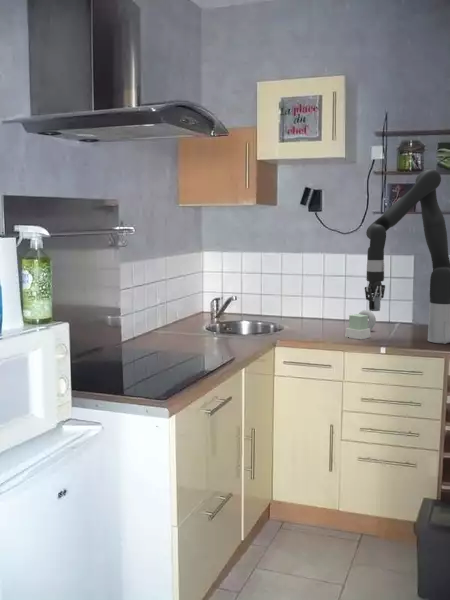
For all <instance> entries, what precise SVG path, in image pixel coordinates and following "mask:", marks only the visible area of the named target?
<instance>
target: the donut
mask: <svg viewBox="0 0 450 600" xmlns="http://www.w3.org/2000/svg"><path fill="white" fill-rule="evenodd" d="M358 314H361V315H368V328H370V329H371V330H372V329H374V327H375V326H376V323H377V319H376V315H375V314H374V313H373V311H369V309H364V310H361V311H360V312H359V313H358Z"/></svg>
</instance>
